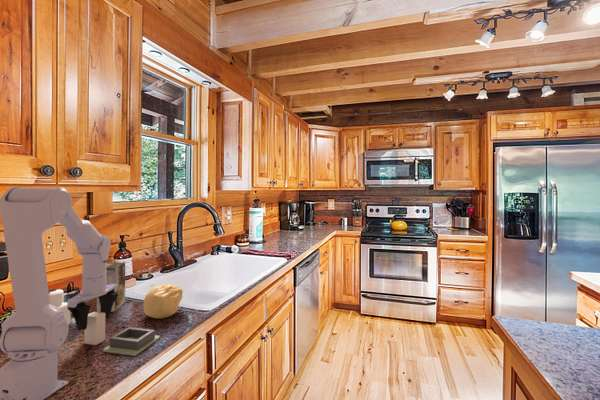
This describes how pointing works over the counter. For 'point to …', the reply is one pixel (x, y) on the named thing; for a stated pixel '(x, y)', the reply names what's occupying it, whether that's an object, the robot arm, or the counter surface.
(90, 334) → the keyed plug
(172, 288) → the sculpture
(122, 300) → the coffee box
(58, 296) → the white stepped block
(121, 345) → the socket board
